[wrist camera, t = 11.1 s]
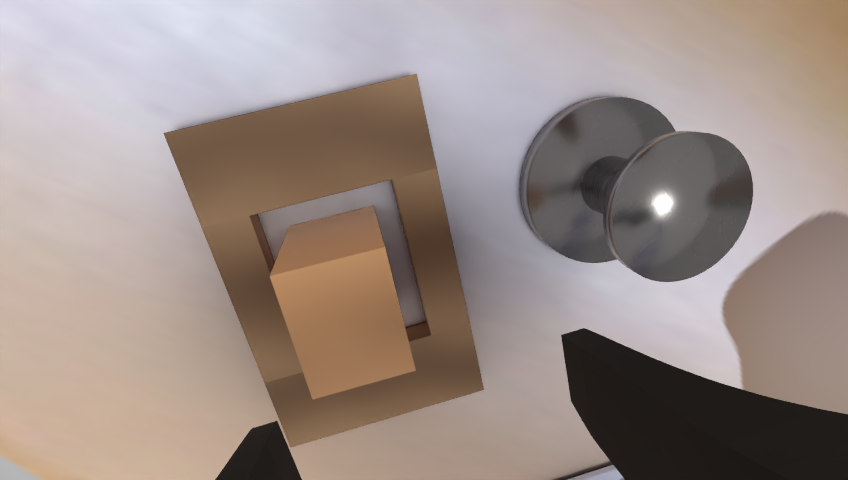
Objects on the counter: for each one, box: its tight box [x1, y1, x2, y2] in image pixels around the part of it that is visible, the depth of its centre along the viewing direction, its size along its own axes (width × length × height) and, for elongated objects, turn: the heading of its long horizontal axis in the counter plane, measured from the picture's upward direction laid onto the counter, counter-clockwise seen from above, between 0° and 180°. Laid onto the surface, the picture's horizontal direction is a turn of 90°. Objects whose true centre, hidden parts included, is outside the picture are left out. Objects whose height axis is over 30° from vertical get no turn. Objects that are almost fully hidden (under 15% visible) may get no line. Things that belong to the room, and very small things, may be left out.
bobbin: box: [520, 97, 753, 282], centre depth 18 cm, size 7×7×6 cm
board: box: [164, 74, 484, 447], centre depth 19 cm, size 14×9×1 cm, turn 12°
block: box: [270, 206, 416, 400], centre depth 17 cm, size 4×4×6 cm
